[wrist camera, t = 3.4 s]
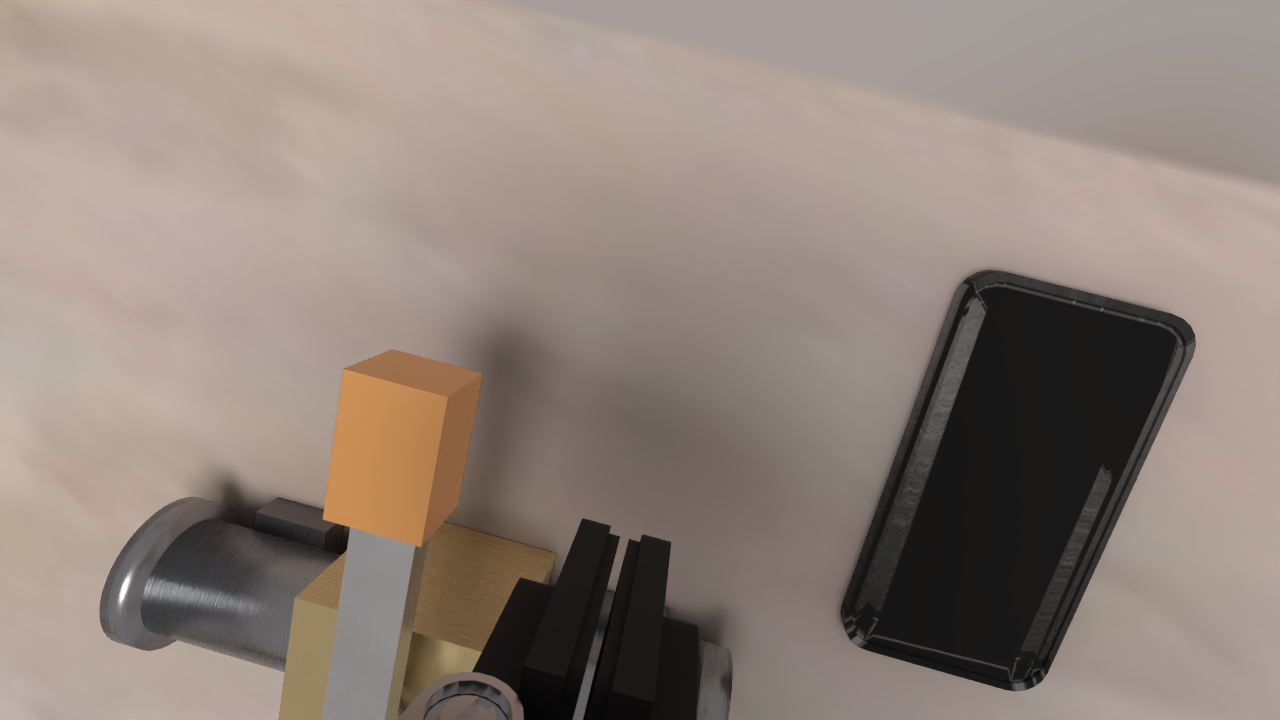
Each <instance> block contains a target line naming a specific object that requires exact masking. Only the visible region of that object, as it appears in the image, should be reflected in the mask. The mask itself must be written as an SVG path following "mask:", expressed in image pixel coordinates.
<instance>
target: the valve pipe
mask: <svg viewBox="0 0 1280 720" xmlns="http://www.w3.org/2000/svg"><path fill="white" fill-rule="evenodd" d="M323 512H324V510H320V509H317V508H313V507H310V506H306V505H303V504H299V503H295V502H292V501H288V500H285V499H281V498H277V499H275V500H274V501H272V502H270V503H269V504H267V505H266V506H264V507H263V508H261V509H260V510H258V511H256V512H255V521H254V530H253V529H249V528H246V527H242V526H239V522H238V519H237V516H236V514H235V513H234V511H233V510H232V509H231V508H230V507H228V506H226V505H223V504H220V503H216V502H213V501H209V500H206V499H202V498H198V497H188V498H183V499H180V500H177V501H175V502H173V503H170V504H169V505H167V506H165V507H164V508H162V509H160V510H159V511H158V512H156V513H155V514H154V515H153V516H151V517H150V518H149V519H148V520H147V521H146V522H145V523H144V524H143V525H142V526H141V527H140V528H139V529H138V530H137V531H136V532H135V533H134V535H133V536H132V537H131V538H130V539H129V541H128V542H127V544H126V545H125V546H124V548H123V549H122V551H121V552H120V554H119V556H118V557H117V559H116V561H115V563H114V564H113V566H112V568H111V570H110V573H109V575H108V577H107V580H106V583H105V586H104V589H103V592H102V597H101V602H100V622H101V626H102V629H103V631H104V633H105V634H106V635H107V637H109V638H110V639H111V640H113V641H115V642H118V643H121V644H124V645H128V646H131V647H134V648H138V649H141V650H147V651H151V650H157V649H161V648H163V647H166V646H168V645H170V644H172V643H173V642H175V641H177V640H178V641H181V642H185V643H188V644H192V645H195V646H198V647H202V648H205V649H208V650H212V651H215V652H218V653H222V654H225V655H229V656H232V657H235V658H239V659H242V660H245V661H249V662H252V663H256V664H259V665H262V666H266V667H269V668H272V669H276V670H279V671H282V672H285V675H284V682H283V690H282V698H281V705H280V713H279V720H321V719H322V713H323V706H324V699H325V693H326V686H327V679H328V672H329V666H330V659H331V652H332V646H333V639H334V632H335V626H336V619H337V612H338V606H339V599H340V592H341V586H342V579H343V572H344V565H345V559H346V552H347V551H346V552H344V553H343V554H342V555H340V548H341V541H342V534H343V527H344V525H341V524H337V523H333V522H330V521H326V520H323ZM555 555H556V553H553V552H550V551H546V550H543V549H539V548H535V547H532V546H528V545H525V544H521V543H518V542H514V541H510V540H507V539H503V538H500V537H496V536H493V535H489V534H485V533H482V532H478V531H475V530H471V529H468V528H464V527H460V526H457V525H453V524H450V523H446V522H443V523H442V524H441V525H440V526H439V528H438V529H437V530H436V531H435V532H434V533H433V534H432V535H431V537H430V538H429V544H428V549H427V555H426V560H425V566H424V571H423V577H422V582H421V588H420V593H419V599H418V604H417V610H416V615H415V621H414V626H413V632H412V637H411V643H410V648H409V654H408V659H407V665H406V670H405V676H404V681H403V687H402V692H401V698H400V703H399V709H398V714H397V720H398V718H399V717H400V716H401V715H402V714H403V712H404V711H405V710H406V709H407V708H408V706H409V705H410V704H411V703H412V702H413V700H414V699H415V698H416V697H417V696H418V694H419V693H420V692H421V691H422V690H423V689H425V688H426V687H427V686H428V685H429V684H430V683H431V682H433V681H435V680H437V679H439V678H442V677H444V676H446V675H450V674H455V673H460V672H472V671H473V669H474V667H475V665H476V663H477V661H478V659H479V657H480V655H481V653H482V651H483V649H484V647H485V645H486V643H487V641H488V639H489V637H490V635H491V633H492V631H493V629H494V627H495V625H496V623H497V621H498V619H499V617H500V615H501V613H502V611H503V609H504V607H505V605H506V603H507V601H508V599H509V597H510V595H511V593H512V591H513V589H514V587H515V585H516V583H517V582H518V580H519V578H521V577H522V578H525V579H529V580H532V581H536V582H540V583H543V584H547V585H549V581H550V577H551V572H552V568H553V564H554V560H555ZM614 595H615V592H611V591H608V590H606V593H605V597H604V601H603V605H602V609H601V612H600V616H599V620H598V624H597V628H596V632H595V636H594V640H593V644H592V647H591V651H590V655H589V659H588V663H587V667H586V671H585V675H584V678H583V682H582V686H581V690H580V694H579V698H578V701H577V705H576V709H575V713H574V717H573V720H583V717H584V713H585V709H586V705H587V700H588V696H589V692H590V688H591V684H592V680H593V676H594V672H595V668H596V664H597V660H598V656H599V652H600V648H601V645H602V641H603V637H604V633H605V629H606V626H607V622H608V618H609V614H610V610H611V606H612V603H613V599H614ZM663 616H664V617H668V607H664V614H663ZM731 689H732V656H731V652H730V649H729V648H727V647H723V646H720V645H716V644H713V643H709V642H706V641H700V643H699V644H698V672H697V720H728V716H729V708H730V700H731Z"/></svg>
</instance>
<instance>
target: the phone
mask: <svg viewBox="0 0 1280 720" xmlns="http://www.w3.org/2000/svg"><path fill="white" fill-rule="evenodd" d="M1195 347H1196V341H1195V334H1194V332H1193V330H1192V328H1191V326H1190V325H1189V324H1188V323H1187V322H1186V321H1185V320H1184V319H1183V318H1180V317H1178V316H1176V315H1173V314H1170V313H1166V312H1162V311H1158V310H1154V309H1150V308H1146V307H1142V306H1138V305H1134V304H1130V303H1126V302H1122V301H1118V300H1114V299H1110V298H1106V297H1102V296H1098V295H1095V294H1091V293H1087V292H1083V291H1079V290H1075V289H1071V288H1067V287H1063V286H1059V285H1055V284H1051V283H1047V282H1043V281H1039V280H1035V279H1031V278H1027V277H1023V276H1019V275H1015V274H1011V273H1007V272H1001V271H992V270H987V271H982V272H977V273H976V274H974V275H972V276H970V277H968V278H967V279H966V280H965V281H964V282H963V283H962V284H961V285H960V286H959V288H958V289H957V291H956V293H955V295H954V297H953V300H952V303H951V306H950V308H949V311H948V314H947V317H946V319H945V322H944V325H943V328H942V330H941V333H940V336H939V339H938V341H937V344H936V347H935V350H934V353H933V355H932V358H931V361H930V364H929V366H928V369H927V372H926V375H925V377H924V380H923V383H922V386H921V388H920V391H919V394H918V397H917V399H916V402H915V405H914V408H913V410H912V413H911V416H910V419H909V421H908V424H907V427H906V430H905V433H904V435H903V438H902V441H901V444H900V446H899V449H898V452H897V455H896V457H895V460H894V463H893V466H892V468H891V471H890V474H889V477H888V479H887V482H886V485H885V488H884V490H883V493H882V496H881V499H880V501H879V504H878V507H877V510H876V512H875V515H874V518H873V521H872V524H871V526H870V529H869V532H868V535H867V537H866V540H865V543H864V546H863V548H862V551H861V554H860V557H859V559H858V562H857V565H856V568H855V570H854V573H853V576H852V579H851V581H850V584H849V587H848V590H847V592H846V595H845V598H844V601H843V604H842V608H841V617H842V622H843V625H844V628H845V631H846V633H847V635H848V637H849V639H850V640H851V641H852V642H853V643H854V644H855V645H857V646H858V647H860V648H862V649H865V650H867V651H871V652H874V653H878V654H882V655H885V656H889V657H892V658H896V659H899V660H903V661H906V662H910V663H913V664H917V665H920V666H924V667H927V668H931V669H934V670H938V671H941V672H945V673H948V674H952V675H955V676H959V677H962V678H966V679H969V680H973V681H976V682H980V683H983V684H987V685H990V686H994V687H997V688H1001V689H1004V690H1010V691H1022V690H1027V689H1030V688H1032V687H1035V686H1036V685H1037V684H1039V683H1040V682H1041V681H1042V680H1043V679H1044V677H1045V676H1046V675H1047V673H1048V671H1049V669H1050V667H1051V664H1052V662H1053V660H1054V658H1055V656H1056V653H1057V651H1058V649H1059V647H1060V645H1061V643H1062V640H1063V638H1064V636H1065V634H1066V632H1067V629H1068V627H1069V625H1070V623H1071V621H1072V619H1073V616H1074V614H1075V612H1076V610H1077V608H1078V605H1079V603H1080V601H1081V599H1082V597H1083V595H1084V592H1085V590H1086V588H1087V586H1088V584H1089V581H1090V579H1091V577H1092V575H1093V573H1094V571H1095V568H1096V566H1097V564H1098V562H1099V560H1100V558H1101V555H1102V553H1103V551H1104V549H1105V547H1106V544H1107V542H1108V540H1109V538H1110V536H1111V534H1112V531H1113V529H1114V527H1115V525H1116V523H1117V520H1118V518H1119V516H1120V514H1121V512H1122V510H1123V507H1124V505H1125V503H1126V501H1127V499H1128V497H1129V494H1130V492H1131V490H1132V488H1133V486H1134V483H1135V481H1136V479H1137V477H1138V475H1139V473H1140V470H1141V468H1142V466H1143V464H1144V462H1145V460H1146V457H1147V455H1148V453H1149V451H1150V449H1151V446H1152V444H1153V442H1154V440H1155V438H1156V436H1157V433H1158V431H1159V429H1160V427H1161V425H1162V423H1163V420H1164V418H1165V416H1166V414H1167V412H1168V409H1169V407H1170V405H1171V403H1172V401H1173V399H1174V396H1175V394H1176V392H1177V390H1178V388H1179V386H1180V383H1181V381H1182V379H1183V377H1184V375H1185V373H1186V370H1187V368H1188V366H1189V364H1190V362H1191V360H1192V357H1193V354H1194V351H1195Z"/></svg>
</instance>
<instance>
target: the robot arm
mask: <svg viewBox="0 0 1280 720" xmlns="http://www.w3.org/2000/svg"><path fill="white" fill-rule="evenodd" d="M610 528H611V526H609V525H606V524H602V523H598V522H595V521H591V520H587V519H583V518H582V521H581V523H580V526H579V528H578V531H577V533H576V536H575V538H574V541H573V543H572V546H571V548H570V551H569V553H568V556H567V558H566V561H565V563H564V566H563V568H562V571H561V573H560V576H559V579H558V581H557V584H556V586H555V587H554V586H551V585H547V584H543V583H540V582H536V581H532V580H529V579H525V578H522V577H521V578H519V580H518V582H517V583H516V585H515V587H514V589H513V591H512V593H511V595H510V597H509V599H508V601H507V603H506V605H505V607H504V609H503V611H502V613H501V615H500V617H499V619H498V621H497V623H496V625H495V627H494V629H493V631H492V633H491V635H490V637H489V639H488V641H487V643H486V645H485V647H484V649H483V651H482V653H481V655H480V657H479V659H478V661H477V663H476V665H475V667H474V669H473V671H472V672H460V673H455V674H450V675H446V676H444V677H442V678H439V679H437V680H435V681H433V682H431V683H430V684H429V685H428V686H427V687H426V688H425V689H423V690H422V691H421V692H420V693H419V694H418V696H417V697H416V698H415V699H414V700H413V702H412V703H411V704H410V705H409V706H408V708H407V709H406V710H405V711H404V712H403V714H402V715H401V716H400V717H399V718H398V720H573V717H574V713H575V709H576V705H577V701H578V698H579V694H580V690H581V686H582V682H583V678H584V675H585V671H586V667H587V663H588V659H589V655H590V651H591V647H592V644H593V640H594V636H595V632H596V628H597V624H598V620H599V616H600V612H601V609H602V605H603V601H604V597H605V593H606V589H607V585H608V581H609V578H610V574H611V570H612V566H613V562H614V558H615V554H616V550H617V546H618V543H619V539H620V536H616V535H612V534H609V532H610ZM670 548H671V542H669V541H665V540H661V539H658V538H654V537H650V536H647V535H643V534H642V537H641V540H640V542H638V541H634V540H631V539H629V542H628V545H627V549H626V553H625V557H624V561H623V564H622V568H621V572H620V576H619V580H618V584H617V587H616V591H615V595H614V599H613V603H612V606H611V610H610V614H609V618H608V622H607V626H606V629H605V633H604V637H603V641H602V645H601V648H600V652H599V656H598V660H597V664H596V668H595V672H594V676H593V680H592V684H591V688H590V692H589V696H588V700H587V705H586V709H585V713H584V717H583V720H697V672H698V627H697V625H693V624H689V623H686V622H682V621H679V620H675V619H671V618H668V617H664V616H663V614H664V604H665V595H666V586H667V576H668V567H669V557H670Z"/></svg>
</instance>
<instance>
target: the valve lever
mask: <svg viewBox="0 0 1280 720" xmlns="http://www.w3.org/2000/svg"><path fill="white" fill-rule="evenodd" d="M482 376H483V373H479V372H475V371H471V370H468V369H464V368H460V367H456V366H453V365H449V364H445V363H441V362H438V361H434V360H430V359H426V358H423V357H419V356H415V355H411V354H408V353H404V352H400V351H396V350H393V349H391V350H389V351H386V352H384V353H381V354H379V355H377V356H374V357H372V358H369V359H367V360H364V361H362V362H359V363H357V364H354V365H352V366H349V367H347V368H345V369H343V375H342V382H341V389H340V396H339V404H338V411H337V418H336V425H335V433H334V440H333V447H332V454H331V462H330V469H329V476H328V483H327V491H326V498H325V505H324V512H323V520H326V521H330V522H333V523H337V524H341V525H344V526H348V527H350V532H349V539H348V545H347V552H346V559H345V565H344V572H343V579H342V586H341V592H340V599H339V606H338V612H337V619H336V626H335V632H334V639H333V646H332V652H331V659H330V666H329V672H328V679H327V686H326V693H325V699H324V706H323V713H322V719H321V720H397V714H398V709H399V703H400V698H401V692H402V687H403V681H404V676H405V670H406V665H407V659H408V654H409V648H410V643H411V637H412V632H413V626H414V621H415V615H416V610H417V604H418V599H419V593H420V588H421V582H422V577H423V571H424V566H425V560H426V555H427V549H428V544H429V538H430V537H431V535H432V534H433V533H434V532H435V531H436V530H437V529H438V528H439V526H440V525H441V524H442V523H443V522H444V521H445V520H446V519H447V517H448V516H449V515H450V514H451V513H452V512H453V511H454V510H455V508H456V507H457V506H458V502H459V497H460V491H461V486H462V481H463V476H464V470H465V465H466V460H467V455H468V449H469V444H470V439H471V434H472V428H473V423H474V418H475V413H476V407H477V402H478V397H479V392H480V386H481V381H482Z"/></svg>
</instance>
